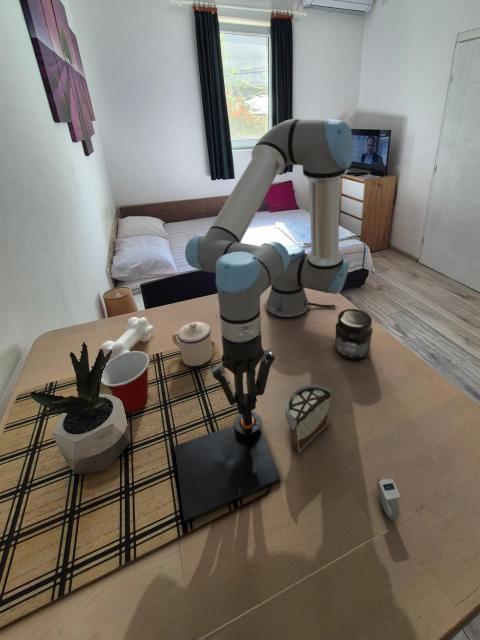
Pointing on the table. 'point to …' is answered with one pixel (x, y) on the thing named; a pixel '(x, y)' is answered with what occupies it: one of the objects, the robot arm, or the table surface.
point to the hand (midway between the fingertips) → (247, 420)
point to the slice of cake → (307, 413)
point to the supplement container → (353, 335)
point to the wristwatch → (389, 496)
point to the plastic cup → (128, 379)
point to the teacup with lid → (194, 343)
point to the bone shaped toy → (129, 337)
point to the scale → (223, 468)
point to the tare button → (249, 425)
